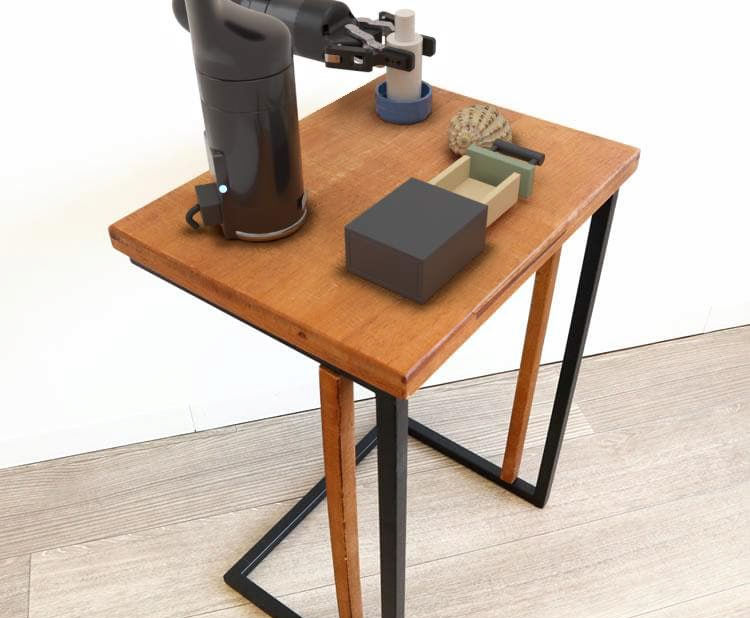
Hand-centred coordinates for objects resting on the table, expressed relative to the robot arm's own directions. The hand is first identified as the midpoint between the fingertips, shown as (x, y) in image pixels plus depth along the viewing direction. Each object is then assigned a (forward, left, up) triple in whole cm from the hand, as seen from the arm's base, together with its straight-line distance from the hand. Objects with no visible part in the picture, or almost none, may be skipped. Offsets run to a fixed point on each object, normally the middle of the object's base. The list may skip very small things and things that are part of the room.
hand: (423, 55), depth 101 cm
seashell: (+4, -9, -8) cm, 13 cm away
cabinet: (-11, -29, -8) cm, 32 cm away
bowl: (-2, +2, -8) cm, 8 cm away
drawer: (0, -21, -7) cm, 22 cm away
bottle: (-2, +2, -7) cm, 8 cm away
